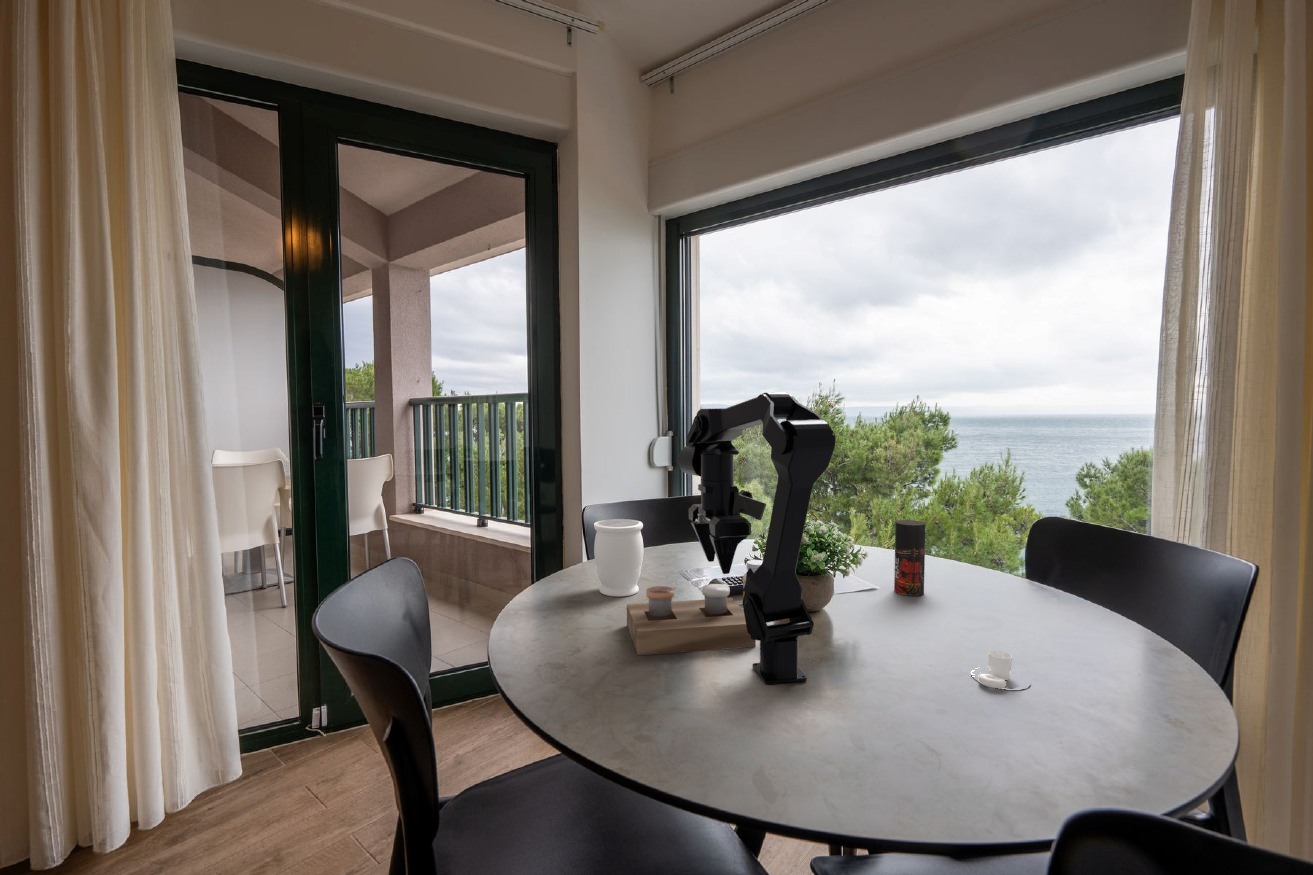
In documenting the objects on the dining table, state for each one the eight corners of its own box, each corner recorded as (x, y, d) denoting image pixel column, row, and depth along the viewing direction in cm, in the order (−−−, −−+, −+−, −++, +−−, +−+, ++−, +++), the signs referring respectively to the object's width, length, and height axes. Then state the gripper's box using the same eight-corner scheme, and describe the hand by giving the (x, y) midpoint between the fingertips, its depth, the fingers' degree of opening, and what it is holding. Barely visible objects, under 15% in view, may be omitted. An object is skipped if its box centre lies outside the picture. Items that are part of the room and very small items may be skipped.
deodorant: (888, 589, 140) (889, 521, 139) (908, 586, 143) (909, 519, 142) (909, 597, 135) (910, 526, 134) (930, 593, 137) (931, 523, 136)
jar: (587, 596, 137) (586, 526, 136) (605, 582, 146) (604, 517, 145) (634, 600, 133) (634, 528, 133) (649, 586, 143) (649, 519, 142)
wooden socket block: (755, 646, 109) (755, 623, 109) (637, 655, 105) (637, 631, 105) (731, 618, 123) (731, 597, 122) (626, 625, 119) (626, 604, 119)
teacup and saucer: (993, 697, 91) (994, 669, 91) (953, 674, 99) (954, 648, 98) (1044, 689, 93) (1045, 662, 93) (1001, 667, 101) (1002, 642, 101)
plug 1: (676, 615, 111) (676, 593, 111) (648, 617, 110) (648, 594, 110) (671, 607, 116) (671, 585, 115) (644, 608, 115) (644, 586, 115)
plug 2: (732, 613, 113) (732, 591, 112) (706, 615, 112) (706, 592, 112) (725, 604, 117) (725, 583, 117) (699, 606, 116) (699, 584, 116)
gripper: (780, 483, 106) (781, 577, 107) (743, 473, 125) (744, 553, 125) (715, 486, 104) (716, 582, 105) (687, 475, 123) (688, 556, 123)
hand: (718, 567), depth 115 cm, fingers open, 9 cm apart
